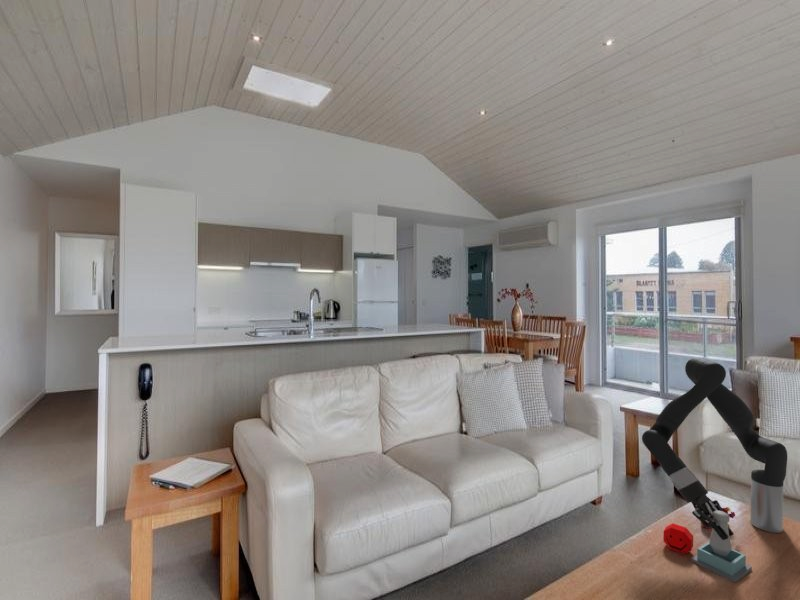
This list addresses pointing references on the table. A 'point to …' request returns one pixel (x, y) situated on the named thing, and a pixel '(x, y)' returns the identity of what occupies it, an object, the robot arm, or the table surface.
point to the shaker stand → (722, 562)
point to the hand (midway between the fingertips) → (728, 537)
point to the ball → (678, 538)
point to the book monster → (725, 512)
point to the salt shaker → (715, 541)
